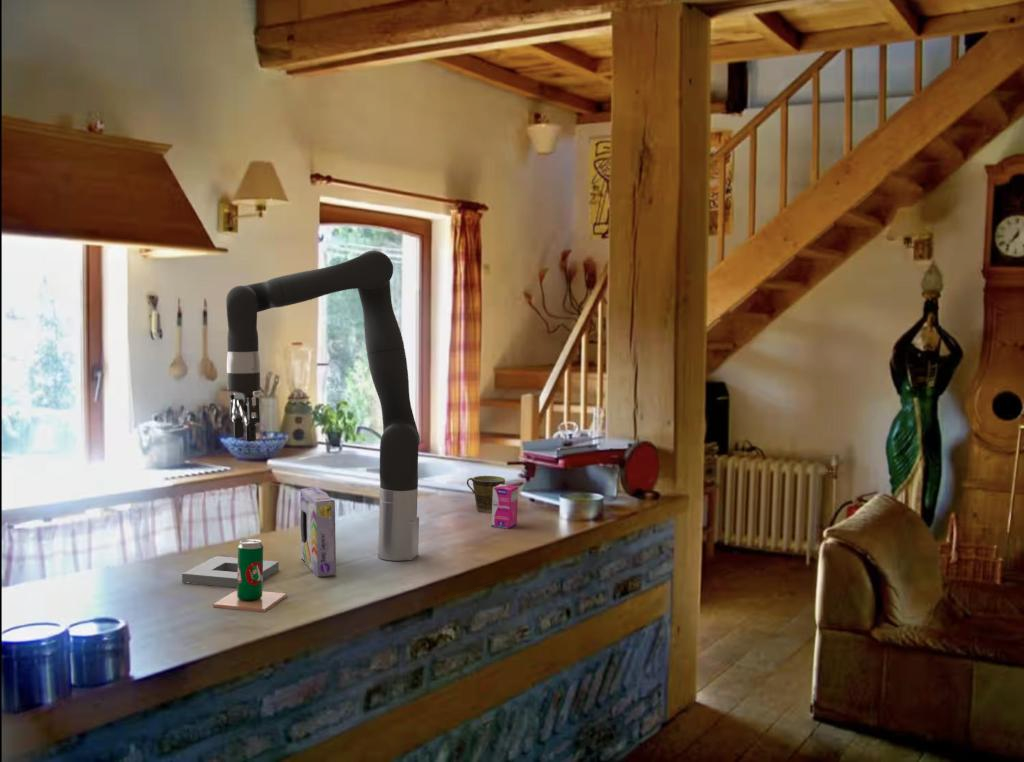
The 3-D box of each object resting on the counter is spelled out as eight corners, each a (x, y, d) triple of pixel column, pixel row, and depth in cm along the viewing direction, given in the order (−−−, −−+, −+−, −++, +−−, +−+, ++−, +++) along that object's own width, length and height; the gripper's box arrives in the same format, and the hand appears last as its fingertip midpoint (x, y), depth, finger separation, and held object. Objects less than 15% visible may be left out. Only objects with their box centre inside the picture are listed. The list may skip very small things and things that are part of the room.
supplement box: (490, 527, 281) (492, 487, 280) (498, 523, 286) (500, 483, 285) (509, 529, 279) (511, 489, 278) (517, 525, 284) (518, 485, 283)
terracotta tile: (286, 596, 209) (286, 593, 209) (264, 611, 198) (264, 609, 198) (237, 591, 211) (237, 588, 211) (213, 607, 200) (213, 604, 200)
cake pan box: (297, 557, 240) (299, 485, 239) (318, 556, 242) (320, 484, 241) (314, 579, 223) (316, 501, 221) (336, 577, 225) (338, 500, 223)
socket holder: (278, 570, 229) (278, 561, 228) (249, 588, 213) (249, 579, 213) (215, 564, 231) (215, 556, 231) (182, 582, 216) (182, 573, 216)
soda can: (239, 594, 207) (240, 538, 206) (264, 595, 207) (265, 538, 206) (234, 602, 202) (235, 544, 201) (259, 602, 202) (260, 544, 201)
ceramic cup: (510, 510, 304) (511, 478, 303) (492, 516, 295) (493, 482, 294) (475, 504, 310) (476, 473, 310) (456, 509, 302) (457, 477, 301)
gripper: (269, 371, 229) (270, 441, 230) (248, 369, 241) (250, 435, 242) (237, 373, 225) (239, 443, 226) (218, 370, 237) (219, 437, 238)
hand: (244, 439), depth 234 cm, fingers open, 8 cm apart
